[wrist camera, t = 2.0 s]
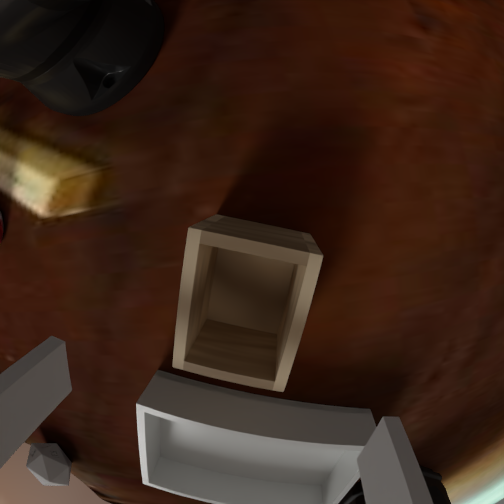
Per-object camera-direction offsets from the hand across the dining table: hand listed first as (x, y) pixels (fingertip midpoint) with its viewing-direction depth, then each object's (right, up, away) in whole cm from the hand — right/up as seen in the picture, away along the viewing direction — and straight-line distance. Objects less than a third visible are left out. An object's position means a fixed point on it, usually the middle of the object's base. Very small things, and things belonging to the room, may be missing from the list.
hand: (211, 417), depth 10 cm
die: (-34, -30, +27) cm, 53 cm away
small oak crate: (+1, +4, +16) cm, 17 cm away
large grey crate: (+2, -16, +21) cm, 26 cm away
